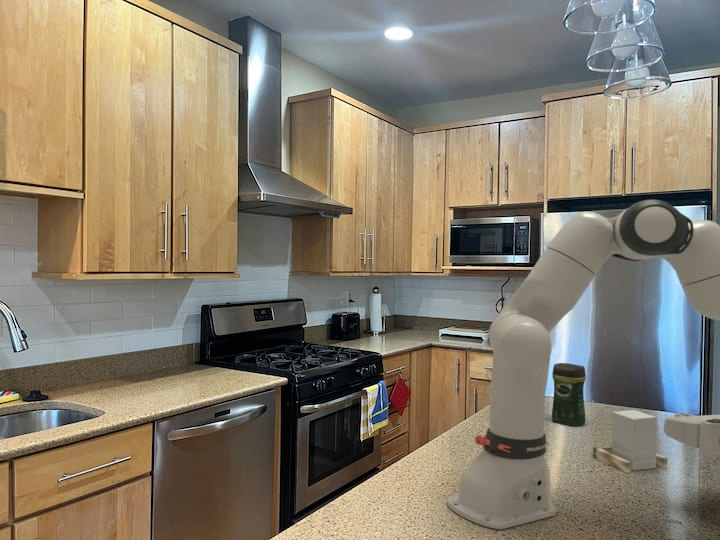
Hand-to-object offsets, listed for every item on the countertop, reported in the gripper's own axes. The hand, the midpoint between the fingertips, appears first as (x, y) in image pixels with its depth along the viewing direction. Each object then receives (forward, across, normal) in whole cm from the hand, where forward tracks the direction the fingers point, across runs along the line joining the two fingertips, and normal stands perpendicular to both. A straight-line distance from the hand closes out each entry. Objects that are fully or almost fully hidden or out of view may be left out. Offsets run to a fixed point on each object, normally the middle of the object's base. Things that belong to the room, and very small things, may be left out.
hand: (679, 417), depth 121 cm
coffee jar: (+48, -9, +16) cm, 51 cm away
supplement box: (+13, -1, +16) cm, 21 cm away
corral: (+14, -1, +16) cm, 21 cm away
